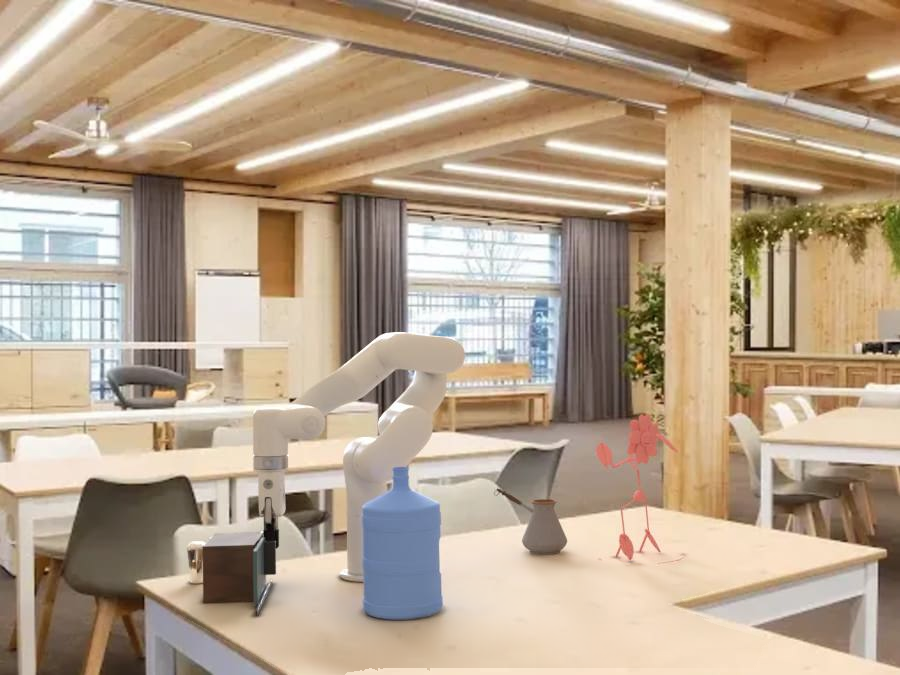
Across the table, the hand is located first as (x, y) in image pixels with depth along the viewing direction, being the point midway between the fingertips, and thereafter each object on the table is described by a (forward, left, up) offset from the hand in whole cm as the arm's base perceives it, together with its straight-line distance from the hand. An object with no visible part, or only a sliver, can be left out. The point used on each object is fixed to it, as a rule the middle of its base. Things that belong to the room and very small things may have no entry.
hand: (271, 547), depth 216 cm
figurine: (-89, -17, -9) cm, 91 cm away
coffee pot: (-62, -33, -9) cm, 71 cm away
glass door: (0, +10, -8) cm, 13 cm away
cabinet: (+7, +10, -9) cm, 15 cm away
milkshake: (+17, -8, -9) cm, 21 cm away
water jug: (-28, +24, -9) cm, 38 cm away
